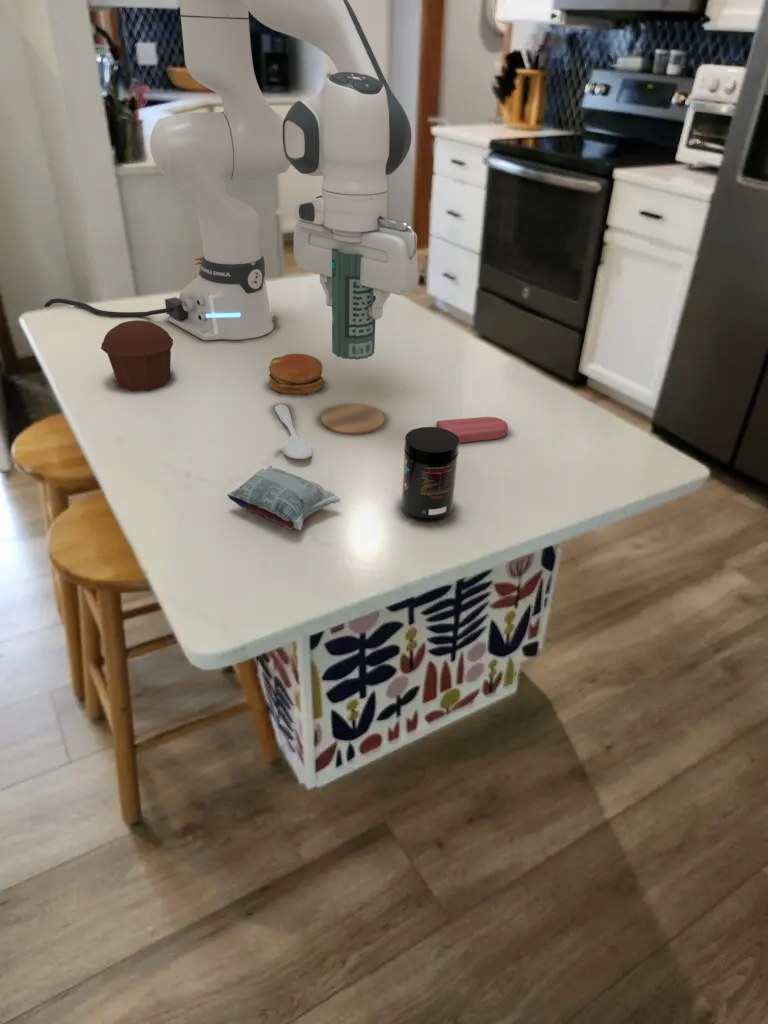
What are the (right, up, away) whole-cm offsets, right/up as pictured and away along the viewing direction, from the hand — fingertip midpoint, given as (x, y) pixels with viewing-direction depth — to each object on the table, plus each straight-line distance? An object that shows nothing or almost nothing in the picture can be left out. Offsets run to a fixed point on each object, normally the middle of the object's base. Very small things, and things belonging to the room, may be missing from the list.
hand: (353, 311), depth 109 cm
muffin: (-37, -7, +20) cm, 43 cm away
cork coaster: (-1, -15, +10) cm, 18 cm away
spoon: (-10, -18, +5) cm, 21 cm away
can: (0, -5, +4) cm, 6 cm away
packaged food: (-8, -29, -13) cm, 33 cm away
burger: (-11, -7, +20) cm, 24 cm away
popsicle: (+16, -18, +7) cm, 25 cm away
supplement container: (+10, -29, -11) cm, 33 cm away
